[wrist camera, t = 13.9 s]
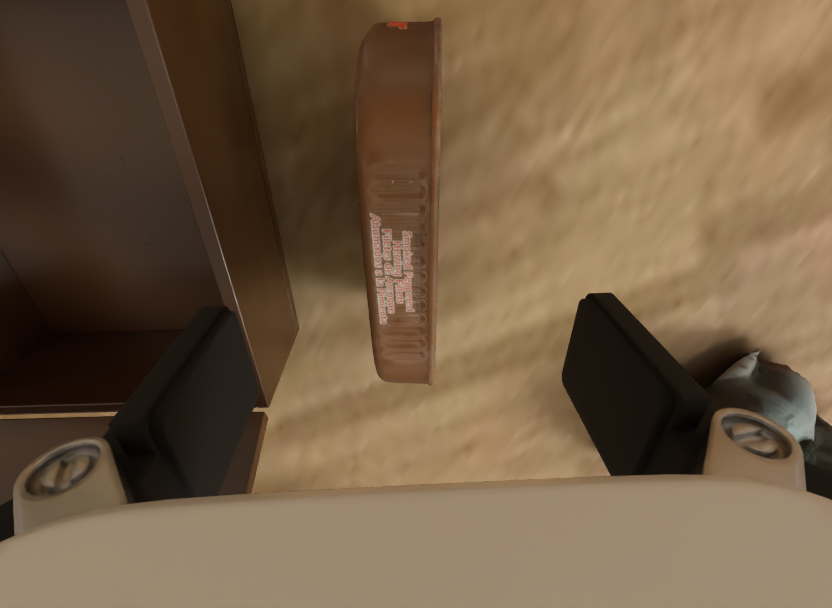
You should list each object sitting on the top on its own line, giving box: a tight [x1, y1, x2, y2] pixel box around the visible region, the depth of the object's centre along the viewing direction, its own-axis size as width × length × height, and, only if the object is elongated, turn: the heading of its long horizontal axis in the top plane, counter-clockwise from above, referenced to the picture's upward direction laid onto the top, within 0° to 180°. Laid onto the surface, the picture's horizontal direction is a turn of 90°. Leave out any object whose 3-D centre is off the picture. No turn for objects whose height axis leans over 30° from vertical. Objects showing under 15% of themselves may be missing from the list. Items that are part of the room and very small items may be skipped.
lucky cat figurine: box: [704, 349, 832, 473], centre depth 25 cm, size 15×12×14 cm
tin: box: [355, 18, 442, 386], centre depth 17 cm, size 15×3×8 cm, turn 0°
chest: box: [0, 0, 299, 415], centre depth 17 cm, size 18×15×7 cm
